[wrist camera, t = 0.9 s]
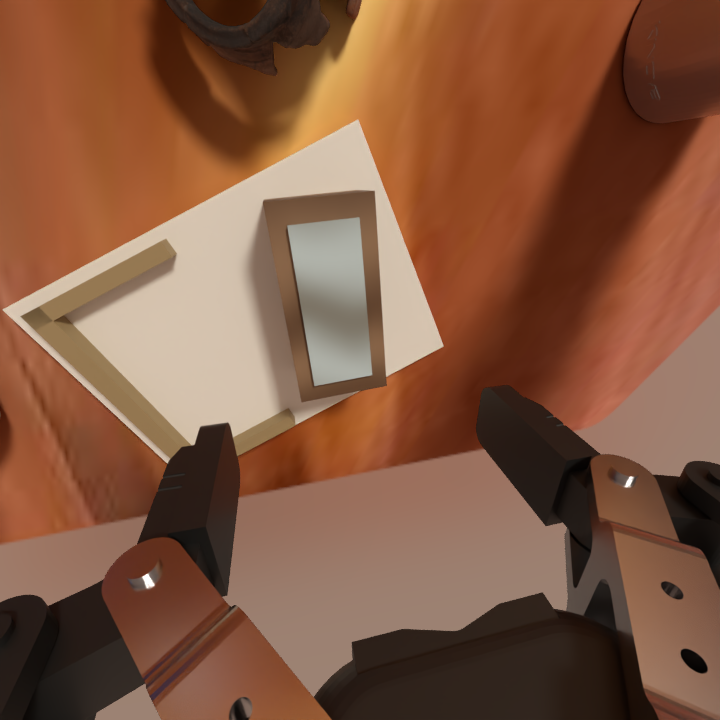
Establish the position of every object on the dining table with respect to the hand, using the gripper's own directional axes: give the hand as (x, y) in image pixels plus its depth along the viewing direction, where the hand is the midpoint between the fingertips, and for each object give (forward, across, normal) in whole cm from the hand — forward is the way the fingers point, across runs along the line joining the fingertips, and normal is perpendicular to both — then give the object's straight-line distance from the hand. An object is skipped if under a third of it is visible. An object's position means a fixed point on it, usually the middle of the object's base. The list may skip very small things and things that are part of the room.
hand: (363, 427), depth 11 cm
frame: (+16, -1, 0) cm, 16 cm away
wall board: (+17, +4, +2) cm, 17 cm away
